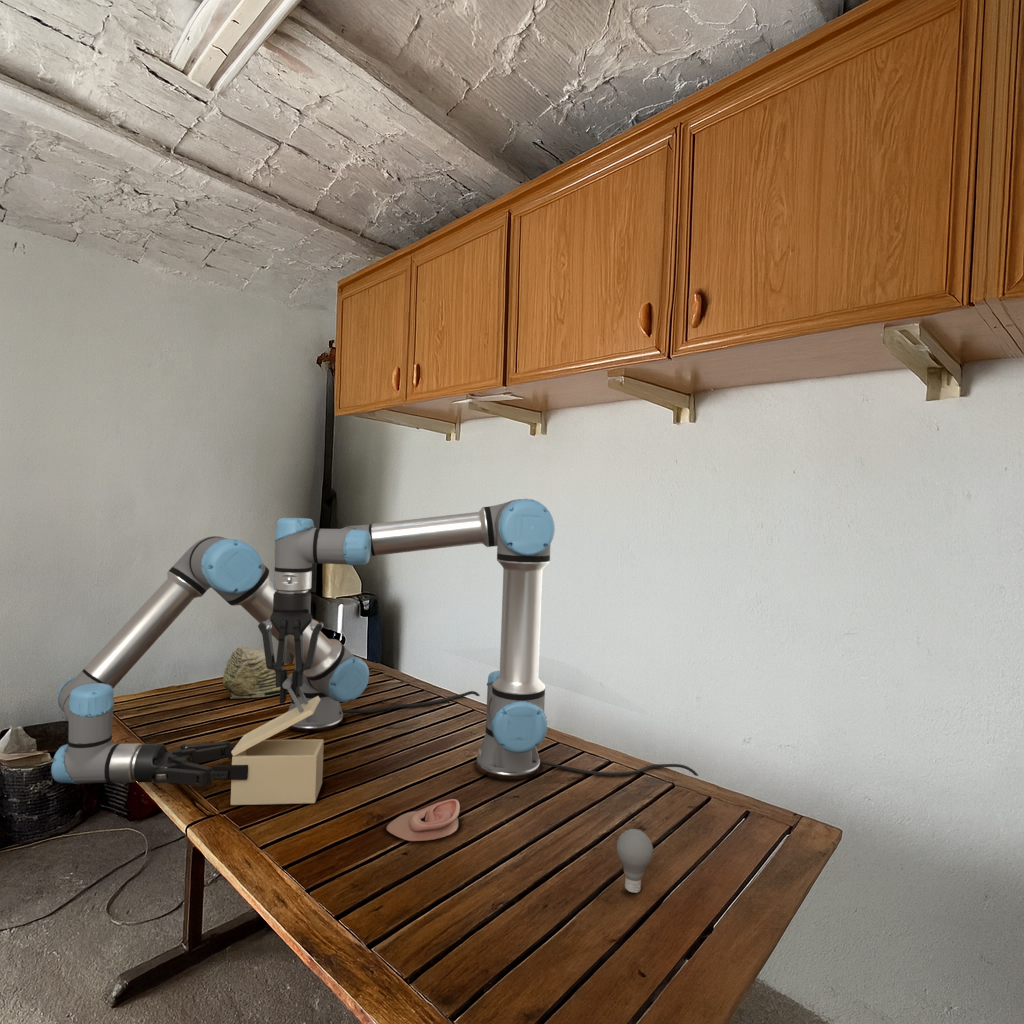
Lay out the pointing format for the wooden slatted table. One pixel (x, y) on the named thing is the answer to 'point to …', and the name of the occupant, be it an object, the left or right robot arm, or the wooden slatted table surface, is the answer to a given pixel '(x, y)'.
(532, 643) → the right robot arm
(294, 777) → the chest
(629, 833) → the light bulb
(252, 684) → the fossil
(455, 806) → the anatomical model
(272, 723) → the lid
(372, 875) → the wooden slatted table surface
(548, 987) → the wooden slatted table surface
